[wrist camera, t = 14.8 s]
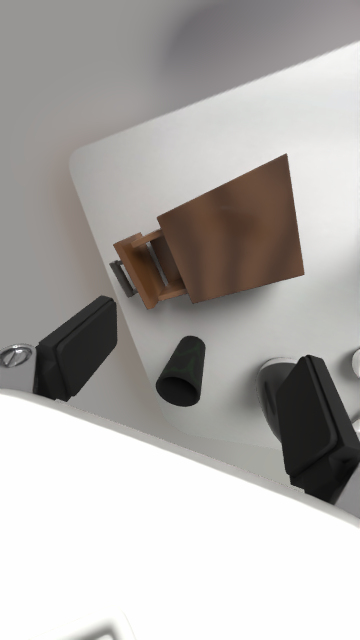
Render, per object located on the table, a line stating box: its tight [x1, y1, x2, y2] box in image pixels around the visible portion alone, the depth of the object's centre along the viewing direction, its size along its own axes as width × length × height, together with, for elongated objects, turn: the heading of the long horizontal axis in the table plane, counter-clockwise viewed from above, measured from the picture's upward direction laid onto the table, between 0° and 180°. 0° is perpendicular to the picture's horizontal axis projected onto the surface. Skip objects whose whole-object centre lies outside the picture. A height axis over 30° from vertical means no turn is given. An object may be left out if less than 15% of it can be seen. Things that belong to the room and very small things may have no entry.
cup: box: [156, 336, 205, 407], centre depth 39 cm, size 8×8×12 cm
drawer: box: [109, 228, 188, 309], centre depth 31 cm, size 16×10×7 cm, turn 113°
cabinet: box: [157, 154, 304, 304], centre depth 27 cm, size 14×12×9 cm
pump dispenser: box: [255, 358, 298, 442], centre depth 35 cm, size 10×10×15 cm
